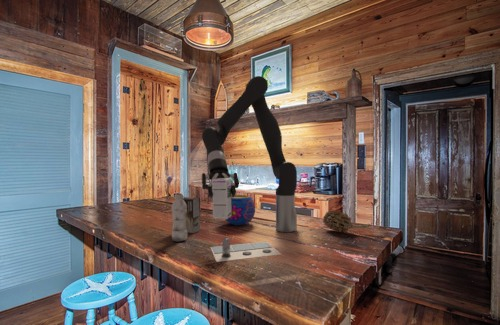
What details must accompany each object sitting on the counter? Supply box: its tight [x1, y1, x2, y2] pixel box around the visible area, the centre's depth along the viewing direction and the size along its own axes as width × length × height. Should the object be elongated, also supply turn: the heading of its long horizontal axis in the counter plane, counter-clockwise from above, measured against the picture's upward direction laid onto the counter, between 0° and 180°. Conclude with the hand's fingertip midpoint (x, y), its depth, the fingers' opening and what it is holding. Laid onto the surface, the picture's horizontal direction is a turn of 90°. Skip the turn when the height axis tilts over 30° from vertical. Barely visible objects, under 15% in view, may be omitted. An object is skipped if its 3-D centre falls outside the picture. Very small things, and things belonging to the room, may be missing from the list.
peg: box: [221, 237, 231, 257], centre depth 90 cm, size 3×3×6 cm
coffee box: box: [183, 196, 201, 234], centre depth 126 cm, size 9×6×16 cm
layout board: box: [209, 241, 282, 263], centre depth 96 cm, size 23×15×1 cm, turn 107°
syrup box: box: [211, 178, 232, 220], centre depth 97 cm, size 6×6×14 cm
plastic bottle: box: [171, 193, 189, 243], centre depth 111 cm, size 6×7×20 cm
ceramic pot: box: [224, 194, 256, 226], centre depth 139 cm, size 18×18×15 cm
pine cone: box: [322, 209, 371, 234], centre depth 121 cm, size 22×10×10 cm, turn 55°
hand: (222, 196), depth 95 cm, fingers closed on syrup box, 7 cm apart
